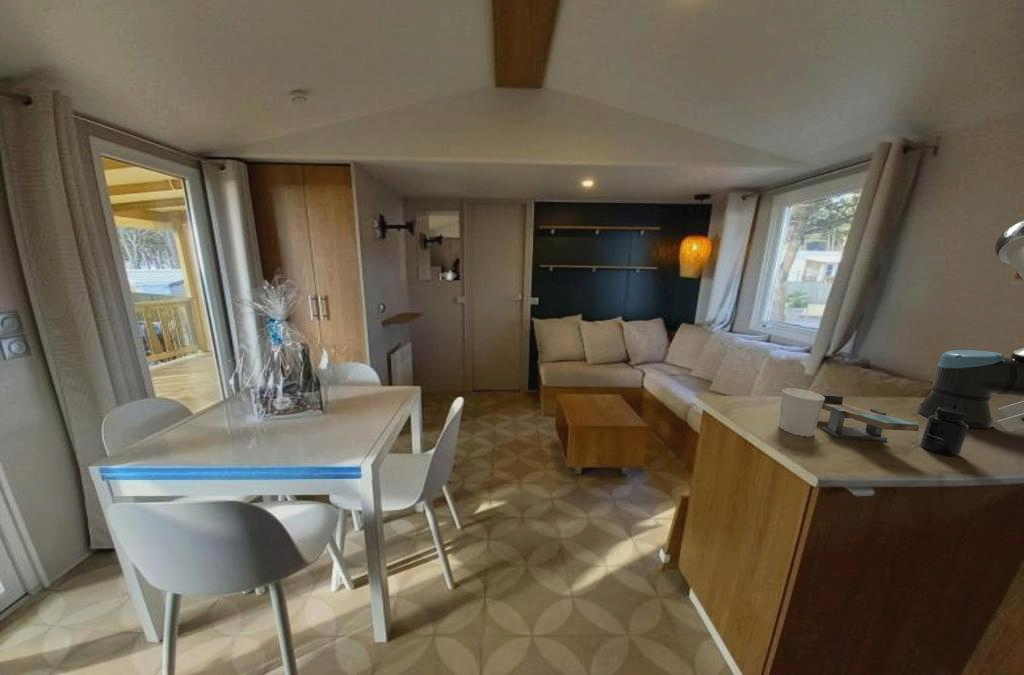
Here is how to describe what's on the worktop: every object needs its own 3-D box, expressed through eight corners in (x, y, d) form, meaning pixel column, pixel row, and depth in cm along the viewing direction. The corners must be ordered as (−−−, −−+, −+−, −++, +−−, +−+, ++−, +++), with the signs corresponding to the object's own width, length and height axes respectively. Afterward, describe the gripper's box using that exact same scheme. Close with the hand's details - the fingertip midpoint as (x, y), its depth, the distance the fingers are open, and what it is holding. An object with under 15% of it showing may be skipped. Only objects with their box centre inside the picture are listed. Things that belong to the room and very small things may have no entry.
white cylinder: (817, 430, 103) (825, 393, 101) (816, 441, 96) (824, 402, 94) (777, 420, 110) (783, 385, 107) (774, 430, 102) (780, 393, 100)
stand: (867, 431, 102) (873, 407, 101) (886, 441, 97) (893, 415, 95) (821, 428, 104) (826, 404, 102) (837, 438, 98) (843, 412, 96)
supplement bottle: (922, 450, 92) (933, 410, 89) (917, 441, 96) (928, 402, 94) (963, 460, 87) (976, 417, 85) (956, 450, 92) (968, 409, 90)
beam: (836, 408, 111) (838, 394, 111) (919, 433, 86) (921, 416, 86) (808, 406, 112) (809, 392, 112) (882, 431, 87) (884, 414, 87)
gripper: (1198, 407, 59) (1019, 448, 74) (1163, 382, 72) (1018, 421, 88) (1146, 371, 62) (985, 417, 77) (1122, 354, 76) (989, 396, 91)
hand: (1003, 419), depth 82 cm, fingers open, 13 cm apart
